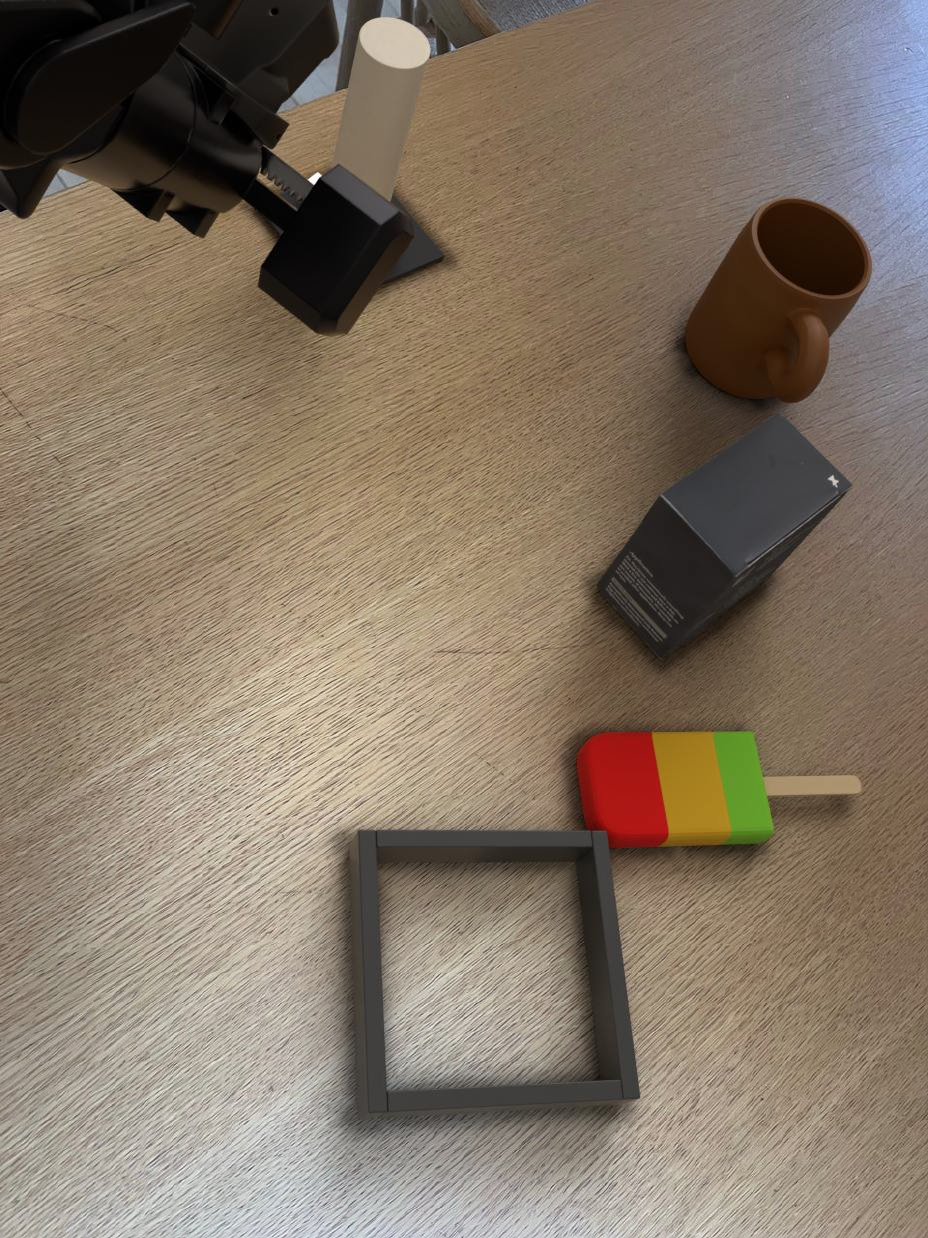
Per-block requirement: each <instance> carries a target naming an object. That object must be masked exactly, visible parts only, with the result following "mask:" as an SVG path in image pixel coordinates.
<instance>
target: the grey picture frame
mask: <svg viewBox="0 0 928 1238" xmlns="http://www.w3.org/2000/svg"><path fill="white" fill-rule="evenodd" d="M378 863H575V865H576V874H577V883H578V891H579V899H580V900H579V901H580V909H581V919H582V927H583V936H584V944H585V945H584V946H585V952H586V953H585V954H586V962H587V963H586V964H587V971H588V978H589V989H590V997H591V1004H592V1005H591V1006H592V1014H593V1015H592V1016H593V1024H594V1033H595V1041H596V1050H597V1060H598V1069H599V1075H600V1076H599V1077H600V1080H584V1081H583V1080H582V1081H563V1082H562V1081H561V1082H546V1083H545V1082H544V1083H540V1082H539V1083H521V1084H520V1083H519V1084H502V1085H482V1086H481V1085H480V1086H463V1087H462V1086H461V1087H441V1088H440V1087H438V1088H424V1089H423V1088H419V1089H402V1090H401V1089H400V1090H399V1089H398V1090H388V1084H387V1083H388V1082H387V1062H386V1058H387V1057H386V1039H385V1038H386V1037H385V1035H386V1034H385V1016H384V1014H385V1013H384V992H383V989H384V988H383V968H382V967H383V965H382V946H381V945H382V943H381V924H380V923H381V922H380V921H381V920H380V919H381V918H380V898H379V874H378V873H379V872H378ZM348 867H349V899H350V927H351V928H350V929H351V960H352V988H353V989H352V991H353V992H352V993H353V1014H354V1015H353V1016H354V1017H353V1020H354V1050H355V1052H354V1053H355V1071H356V1072H355V1083H356V1111H357V1112H356V1113H357V1119H358V1120H374V1119H392V1118H410V1117H413V1118H414V1117H427V1116H428V1117H429V1116H449V1115H466V1114H467V1115H468V1114H482V1113H483V1114H484V1113H485V1114H486V1113H503V1112H519V1111H521V1112H522V1111H537V1110H540V1111H541V1110H556V1109H574V1108H576V1109H577V1108H592V1107H593V1108H594V1107H604V1106H605V1107H608V1106H609V1107H610V1106H611V1107H612V1106H613V1107H614V1106H621V1105H624V1104H627V1103H631V1102H634V1101H636V1100H640V1099H641V1091H640V1081H639V1075H638V1074H639V1073H638V1067H637V1058H636V1051H635V1043H634V1036H633V1028H632V1018H631V1012H630V1011H631V1010H630V1004H629V996H628V995H629V994H628V986H627V980H626V979H627V978H626V971H625V963H624V956H623V948H622V947H623V946H622V940H621V932H620V925H619V917H618V909H617V900H616V892H615V885H614V878H613V867H612V860H611V852H610V847H609V844H608V836H607V831H588V830H575V829H574V830H573V829H572V830H569V829H567V830H564V829H563V830H559V829H558V830H557V829H556V830H555V829H553V830H552V829H550V830H549V829H547V830H546V829H544V830H543V829H540V830H539V829H358V830H357V832H356V833H355V835H354V837H353V838H352V840H351V842H350V843H349V845H348Z"/></svg>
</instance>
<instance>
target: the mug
mask: <svg viewBox="0 0 928 1238" xmlns="http://www.w3.org/2000/svg"><path fill="white" fill-rule="evenodd" d="M872 273H873V260H872V255H871V251H870V249H869V246H868V244H867V242H866V240H865V239H864V238H863V236H862V235H861V233H860V232H859V231H858V230H857V228H856V227H855V226H854V225H853V224H852V223H851V222H850V221H849V220H848V219H846V217H844V216H843V215H842V214H840V213H839V212H837V211H836V210H834V209H832V208H831V207H829V206H827V205H825V204H823V203H821V202H817V201H815V200H812V199H808V198H804V197H795V196H784V197H777V198H775V199H772V200H770V201H768V202H766V203H764V204H763V205H760V207H758V209H757V210H756V211H755V212H754V213H753V215H752V216H751V217H750V219H749V220H748V221H747V223H746V224H745V225H744V226H743V228H742V229H741V230H740V232H739V233H738V235H737V236H736V238H735V240H734V241H733V243H732V244H731V246H730V248H729V249H728V251H727V253H726V254H725V256H724V258H723V259H722V261H721V262H720V264H719V266H718V267H717V269H716V270H715V272H714V274H713V275H712V277H711V279H710V281H709V282H708V284H707V286H706V287H705V289H704V291H702V294H701V296H700V297H699V299H698V300H697V302H696V304H695V306H694V307H693V308H692V310H691V313H690V315H689V316H688V319H687V321H686V322H687V323H686V326H685V330H684V339H685V345H686V350H687V353H688V356H689V358H690V360H691V362H692V364H693V366H694V367H695V368H696V369H697V371H698V372H699V373H700V375H701V376H703V378H704V379H705V380H707V381H708V382H709V383H710V384H711V385H713V386H714V387H715V388H717V389H719V390H721V391H722V392H724V393H727V394H728V395H731V396H734V397H738V398H741V399H746V400H763V399H764V400H765V399H768V398H773V397H775V399H777V400H778V401H780V402H782V403H784V404H798V403H800V402H802V401H804V400H805V399H807V398H809V397H810V396H811V395H812V394H813V393H814V391H815V390H816V389H817V387H819V385H820V383H821V382H822V380H823V378H824V375H825V374H826V371H827V367H828V363H829V358H830V338H831V337H832V336H833V335H834V333H835V332H836V330H837V329H838V328H839V327H840V325H842V323H843V322H844V320H845V319H846V318H847V317H848V315H849V314H850V313H851V312H852V310H853V309H854V307H855V306H856V304H857V303H858V301H859V299H860V297H861V296H862V294H863V293H864V291H865V290H866V288H867V287H868V286H869V283H870V281H871V277H872Z"/></svg>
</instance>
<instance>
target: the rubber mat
mask: <svg viewBox="0 0 928 1238" xmlns="http://www.w3.org/2000/svg"><path fill="white" fill-rule="evenodd" d="M288 192H289V190H288V191H286V192H284V191H283V192H282V193H281V192H280V193H278V194H279V195H280V196H281V197H283V198H284V199H285V200H287V201H288V202H289V203H290V204H292V205H293V206H294V207H295V208H297V209H299V207H300V206H301V204H302V203H303V201H301V202H300V203H298V202H296V201H295V198H296V195H295V196H294V197H293V198H292V197H290V196H289V195H288ZM390 202H391V203H392V204H394V205H395V206H396V207H397V208H399V209H400V210H401V211H403V212H404V213H405V214H406V215H408V216H409V217H410V218H412V224H413V232H414V238H413V240H412V241H411V243H410V245H409V248H408V249H407V250H406V251H405V252H404V253H403V254H402V256H401V257H400V259H399V260H398V262H397V263H396V264H395V266H394V267H393V269H392V270H391V272H390V273H389V275H388V276H387V278H386V279H385V280H384V282H383V283H382V285H381V286H383V285H386V284H388V283H390V282H393V281H395V280H398V279H399V278H402V277H405V276H407V275H409V274H412V273H414V272H416V271H419V270H421V269H423V268H426V267H427V266H428V267H429V266H430V265H433V264H435V263H438V262H441V261H442V260H444V259H445V256H446V255H445V254H444V253H443V251H441V249H440V248H439V247H438V245H437V244H436V243H435V242H434V241H433V239H432V238H431V237H430V236H429V235H428V234H427V232H426V231H424V229H423V228H422V226H421V225H420V224H419V223H418V222H417V221H416V219H415V218H414V217H413V215H411V213H409V211H408V210H407V209H406V207H405V206H404V205H403V204H402V203H401V201H399V199H398V198H397V197H396V196H395V195H394V193H393V194H392V197H391V201H390ZM260 215H261V216H262V217H263V219H264V220H265V221H266V222H267V223H268V225H269V226H270V228H272V230H273V231H274V233H276V235H277V237H279V238H280V236H281V235H282V233H283V232H284V231H283V230H281V229H280V228H279V227H277V226H276V225H275V224H274V223H272V222H271V221H270V220H269V219H267V218H266V217H265V216H263V215H262V214H261V213H260Z"/></svg>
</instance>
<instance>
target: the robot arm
mask: <svg viewBox="0 0 928 1238" xmlns="http://www.w3.org/2000/svg"><path fill="white" fill-rule="evenodd" d="M340 36H341V35H340V30H339V25H338V19H337V15H336V9H335V5H334V0H0V205H1V206H3V207H4V208H5V209H7V210H8V211H9V212H10V213H12V214H13V215H14V216H15V217H16V218H18V219H20V220H26V219H29V218H30V217H32V215H33V214H34V213H35V211H36V209H37V207H38V205H39V204H40V203H41V201H42V199H43V197H44V196H45V194H46V193H47V191H48V189H49V187H51V184H52V182H53V181H54V179H55V177H56V176H57V174H58V173H59V171H60V170H62V171H66V172H68V173H70V174H73V175H76V176H78V177H81V178H83V179H86V180H88V181H91V182H93V183H96V184H99V185H101V186H103V187H105V188H108V189H110V190H111V191H112V192H113V193H114V194H115V195H117V196H118V197H120V198H121V199H122V200H123V201H125V202H126V203H127V204H128V205H130V206H131V207H132V208H134V209H135V210H136V211H137V212H139V213H140V214H141V215H142V216H143V217H145V218H146V219H148V220H151V221H154V222H157V223H160V222H161V220H162V218H163V217H164V215H165V214H166V215H168V216H169V217H170V218H171V219H173V220H174V221H175V222H176V223H177V224H179V225H180V226H181V227H183V228H184V229H185V230H186V231H188V232H189V233H190V234H192V236H195V237H197V238H201V239H202V240H203V239H205V237H206V236H207V234H208V233H209V231H210V229H211V228H212V227H213V225H214V223H215V222H216V220H217V219H218V217H219V215H220V214H226V213H227V212H230V211H231V210H233V209H234V208H235V207H237V206H238V205H239V204H240V203H241V202H243V201H244V202H245V203H247V204H248V205H249V206H251V208H253V209H254V210H256V211H257V212H258V213H259V214H260V215H261V214H262V215H263V216H265V217H266V218H267V219H269V220H270V221H271V222H272V223H274V224H275V225H276V226H277V227H279V228H280V229H281V230H283V231H284V232H283V233H282V235H281V236H280V237H279V238H278V239H277V240H276V242H275V244H274V245H273V247H272V249H270V252H269V253H268V254H267V256H266V258H265V259H264V260H263V262H262V263H261V265H260V269H259V274H258V281H257V288H258V289H260V290H261V291H262V292H263V293H265V294H266V295H267V296H268V297H270V298H271V299H272V300H273V301H275V302H276V303H277V304H279V306H281V307H282V308H283V309H285V311H287V312H288V313H290V314H291V315H292V316H294V317H295V318H296V319H297V320H299V321H300V322H301V323H302V324H303V325H305V326H306V327H307V328H309V329H310V330H311V331H313V332H314V333H315V334H316V335H321V336H326V337H329V338H333V337H338V336H345V335H348V334H349V333H350V331H351V330H352V329H353V327H354V325H355V324H356V323H357V321H358V320H359V318H360V317H361V315H362V314H363V312H364V311H365V309H366V308H367V307H368V306H369V304H370V302H371V301H372V300H373V298H374V297H375V295H376V294H377V292H378V291H379V289H380V288H381V286H383V285H382V283H383V282H384V280H385V279H386V278H387V276H388V275H389V273H390V272H391V270H392V269H393V267H394V266H395V264H396V263H397V262H398V260H399V259H400V257H401V256H402V254H403V253H404V251H405V250H406V248H407V247H408V246H409V244H410V243H411V241H412V240H413V238H414V232H413V224H412V218H410V217H409V216H408V215H406V214H405V213H404V212H403V211H401V210H400V209H399V208H397V207H396V206H395V205H394V204H392V203H391V202H390V201H388V200H387V199H386V198H385V197H383V196H382V195H381V194H379V193H378V192H377V191H376V190H374V189H373V188H372V187H370V186H369V185H368V184H366V183H365V182H364V181H362V180H361V179H360V178H358V177H357V176H356V175H354V174H353V173H352V172H350V171H349V170H347V169H346V168H345V167H343V166H341V165H340V164H337V165H336V166H335V167H333V168H332V169H331V168H330V169H329V170H328V171H326V172H325V173H323V174H321V175H322V176H321V177H319V178H318V180H317V181H316V183H315V184H313V183H311V182H310V181H309V180H308V179H309V178H307V177H305V176H304V175H303V174H302V173H300V172H299V171H297V170H296V169H295V168H294V167H292V166H291V165H290V164H289V163H287V162H286V161H285V160H283V159H282V158H281V157H279V156H278V155H277V154H275V153H274V152H273V151H272V150H274V149H275V148H276V147H277V145H278V143H280V141H281V139H282V137H283V136H284V134H285V133H286V131H287V129H288V128H289V127H290V123H289V122H288V121H287V120H285V119H284V118H283V117H281V116H280V115H279V114H278V112H279V110H280V109H281V107H282V105H283V104H284V103H286V102H287V101H288V100H289V99H290V98H291V97H292V96H294V94H295V93H296V92H297V90H298V89H299V88H300V87H301V86H302V85H303V84H304V83H305V81H307V79H308V78H309V77H310V76H312V74H313V72H314V71H315V70H316V69H317V67H319V66H320V65H321V63H323V61H324V60H326V59H329V58H330V57H331V56H332V55H333V53H334V52H335V51H336V50H337V48H338V46H339V43H340V39H341V37H340ZM259 174H261V175H262V176H264V177H265V176H266V179H267V180H268V181H270V182H273V185H274V186H275V187H278V188H279V187H280V186H281V187H280V191H282V192H283V193H284V192H287V191H289V192H288V195H289V196H290V197H292V198H293V197H294V196H295V195H296V198H295V201H296V202H298V203H300V202H301V201H303V203H302V204H301V206H300V207H299V209H297V208H295V207H294V206H293V205H292V204H290V203H289V202H288V201H287V200H285V199H284V198H283V197H281V196H280V195H279V194H280V193H278V192H277V191H276V190H274V189H273V188H271V187H270V186H269V185H267V184H266V183H265V182H264V181H262V180H261V179H260V178H259V177H258V176H259ZM262 215H261V216H262ZM263 216H262V217H263Z"/></svg>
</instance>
